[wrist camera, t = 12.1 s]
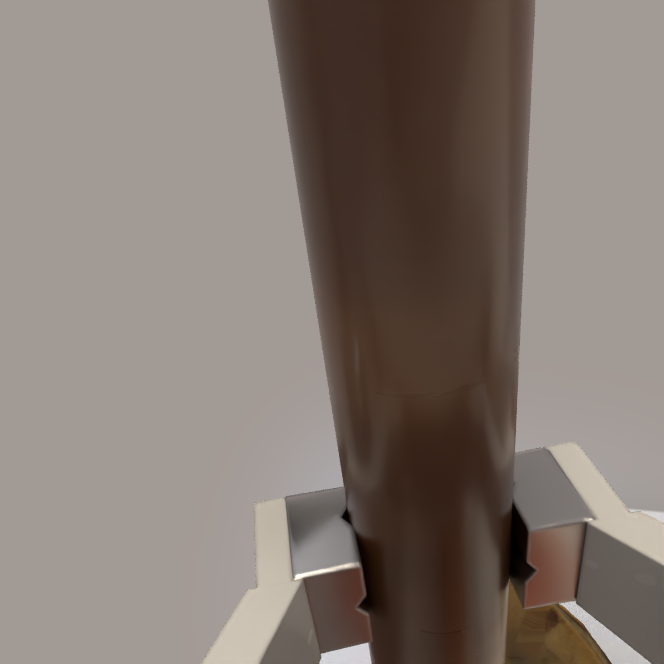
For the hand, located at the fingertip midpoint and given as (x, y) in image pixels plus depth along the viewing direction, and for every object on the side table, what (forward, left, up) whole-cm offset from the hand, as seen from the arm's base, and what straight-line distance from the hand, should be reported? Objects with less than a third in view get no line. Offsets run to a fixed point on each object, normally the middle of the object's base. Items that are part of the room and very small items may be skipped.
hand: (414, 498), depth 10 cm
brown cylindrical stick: (0, -1, -13) cm, 13 cm away
